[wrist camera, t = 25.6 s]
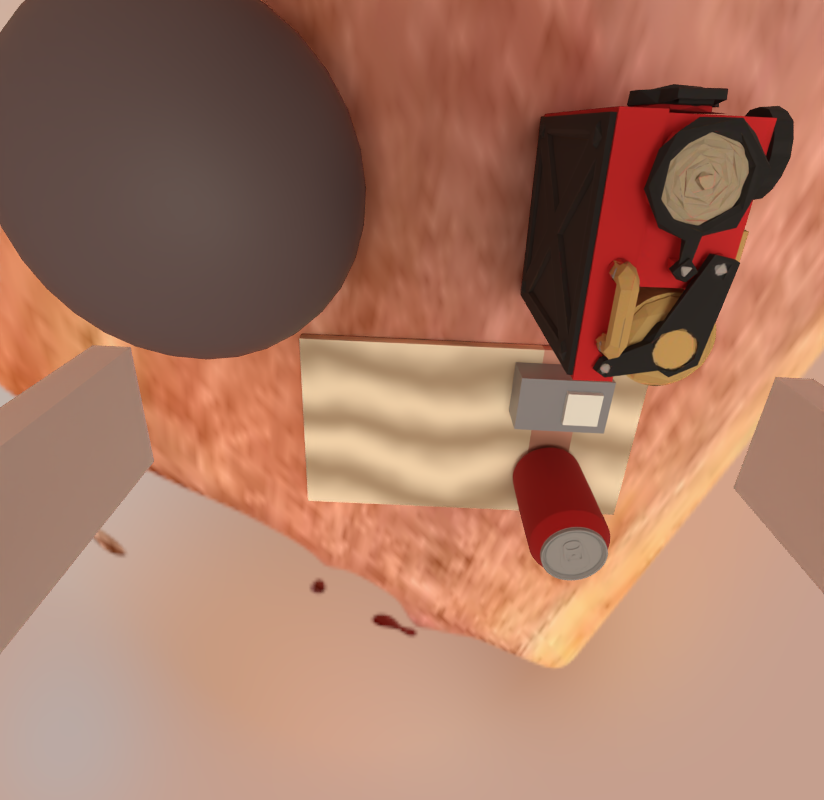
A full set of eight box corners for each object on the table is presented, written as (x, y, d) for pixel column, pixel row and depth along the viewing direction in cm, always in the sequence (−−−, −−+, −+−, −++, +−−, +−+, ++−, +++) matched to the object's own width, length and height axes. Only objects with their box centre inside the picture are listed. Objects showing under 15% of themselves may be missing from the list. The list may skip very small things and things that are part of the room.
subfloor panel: (301, 333, 50) (299, 338, 48) (650, 350, 50) (656, 355, 49) (310, 493, 58) (308, 500, 57) (610, 507, 58) (613, 514, 57)
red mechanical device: (631, 303, 48) (755, 410, 30) (516, 300, 48) (571, 405, 30) (674, 99, 41) (871, 80, 23) (538, 96, 41) (629, 74, 23)
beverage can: (517, 504, 56) (539, 593, 46) (505, 450, 53) (525, 532, 43) (582, 491, 55) (620, 578, 45) (574, 436, 53) (612, 515, 42)
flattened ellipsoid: (322, 362, 51) (286, 446, 38) (47, 262, 47) (-101, 316, 34) (420, 79, 40) (420, 57, 27) (76, -80, 36) (-122, -197, 23)
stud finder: (515, 362, 49) (523, 381, 45) (603, 366, 49) (618, 385, 46) (508, 410, 51) (515, 432, 48) (592, 414, 51) (605, 437, 48)
